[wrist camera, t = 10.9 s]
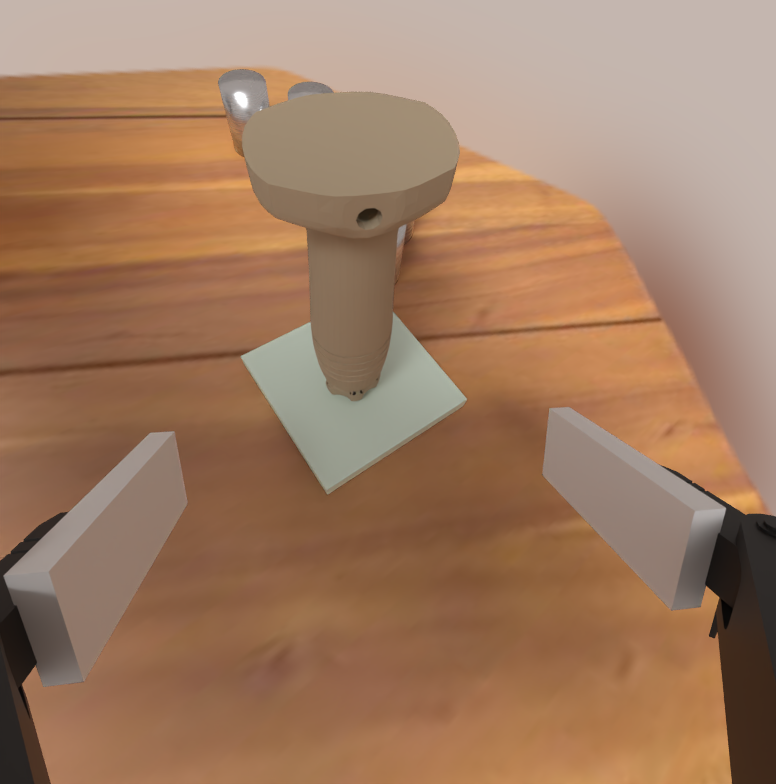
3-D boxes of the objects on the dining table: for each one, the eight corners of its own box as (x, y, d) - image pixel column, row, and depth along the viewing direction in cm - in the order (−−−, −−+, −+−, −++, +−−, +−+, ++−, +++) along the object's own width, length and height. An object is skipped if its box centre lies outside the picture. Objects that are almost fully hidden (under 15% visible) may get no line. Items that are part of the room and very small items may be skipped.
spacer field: (227, 140, 37) (210, 76, 32) (305, 115, 39) (300, 52, 35) (359, 303, 30) (361, 249, 26) (445, 260, 32) (460, 205, 28)
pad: (244, 364, 27) (240, 356, 26) (374, 299, 30) (374, 289, 29) (327, 494, 24) (326, 490, 23) (463, 406, 27) (467, 399, 26)
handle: (412, 405, 26) (480, 184, 12) (304, 425, 24) (249, 205, 11) (393, 339, 28) (433, 87, 14) (292, 354, 26) (235, 97, 13)
